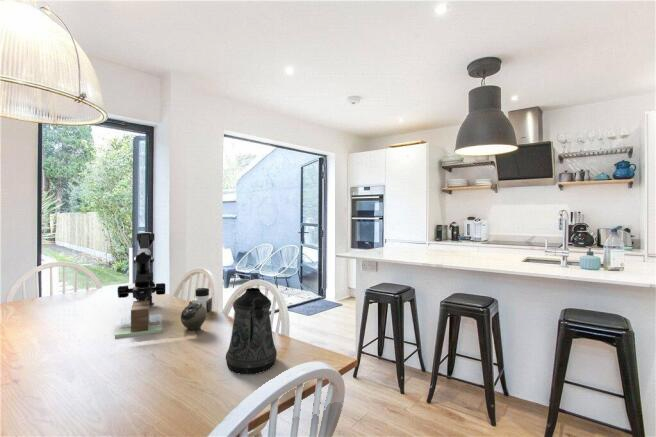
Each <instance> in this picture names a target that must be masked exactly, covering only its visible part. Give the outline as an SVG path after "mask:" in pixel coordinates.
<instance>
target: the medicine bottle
mask: <svg viewBox="0 0 656 437" xmlns="http://www.w3.org/2000/svg"><path fill="white" fill-rule="evenodd" d="M191 302H192V303H199V304H202V305H203V306H204V307H205V308H206V310H207V315H209V314H210V313H211V312H212V310H213V309H212V308H213V297H212V296H210V289H209V288H207V287H198V288H196V289H195V298H193V299H192V300H191Z"/></svg>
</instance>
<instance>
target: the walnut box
mask: <svg viewBox="0 0 656 437" xmlns="http://www.w3.org/2000/svg"><path fill="white" fill-rule="evenodd" d="M149 315H150V305H149V300H143V301H137V300H134V301H133V302H132V305H131V309H130V317H131V324H130V328H131V333H132V332H140V331H148V327H149Z"/></svg>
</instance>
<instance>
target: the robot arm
mask: <svg viewBox="0 0 656 437" xmlns="http://www.w3.org/2000/svg"><path fill="white" fill-rule="evenodd" d="M154 241H155V233H153V232H149V231H141V232H139V233H136V242H137V243H138V244H137V245H138V247H139V250H138V251H137V252H136V254H135V256H134V259H133V264H134V265H135V269H136V270H135V271H136V273H135V280H134V286H133V287H132V288H130V287H129V285H119V286H117V297H118V298H119V299H121V298H123V299H124V298H128V297H129V294H132V298H133V299H136V301H143V300H149V306H152V305H154V304H155V302H153V294H154V293H155V294H156V295H158V296H161V295H162V296H163V295H165V294H166V283H165V282H158V283H155V281H154V272H151V267H150V266H151V265H152V264H153V263H154V262H155V258H154V257H153V255H152V251H151V250H150V249H151V248H152V247H153V245H154Z"/></svg>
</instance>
